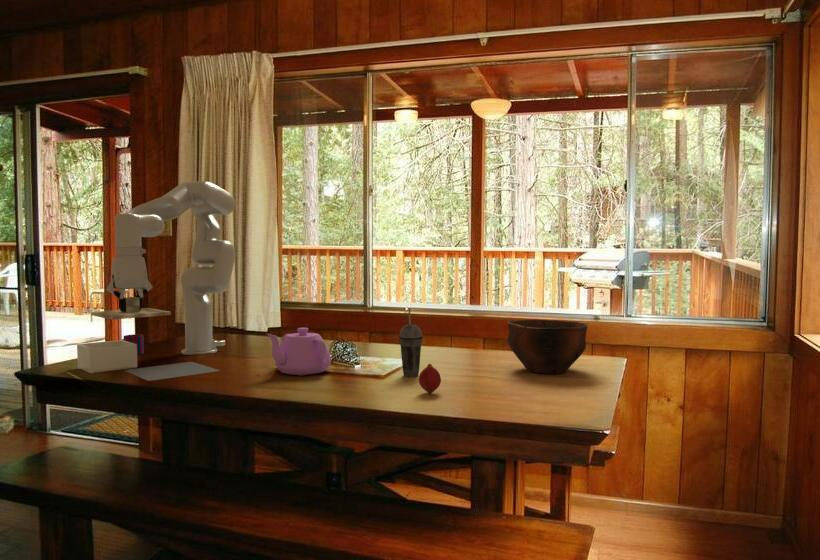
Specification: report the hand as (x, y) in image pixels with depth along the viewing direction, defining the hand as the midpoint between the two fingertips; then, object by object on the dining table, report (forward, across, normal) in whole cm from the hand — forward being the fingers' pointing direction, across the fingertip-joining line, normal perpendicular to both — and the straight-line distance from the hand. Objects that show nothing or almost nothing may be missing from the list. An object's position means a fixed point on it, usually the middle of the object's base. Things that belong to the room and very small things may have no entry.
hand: (130, 310), depth 204 cm
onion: (+19, -44, +90) cm, 102 cm away
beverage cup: (+19, -56, +69) cm, 91 cm away
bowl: (+19, -91, +94) cm, 132 cm away
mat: (+19, -7, +12) cm, 24 cm away
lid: (+1, 0, 0) cm, 1 cm away
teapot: (+19, -34, +41) cm, 57 cm away
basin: (+19, +5, -8) cm, 21 cm away
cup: (+19, -11, -32) cm, 39 cm away
